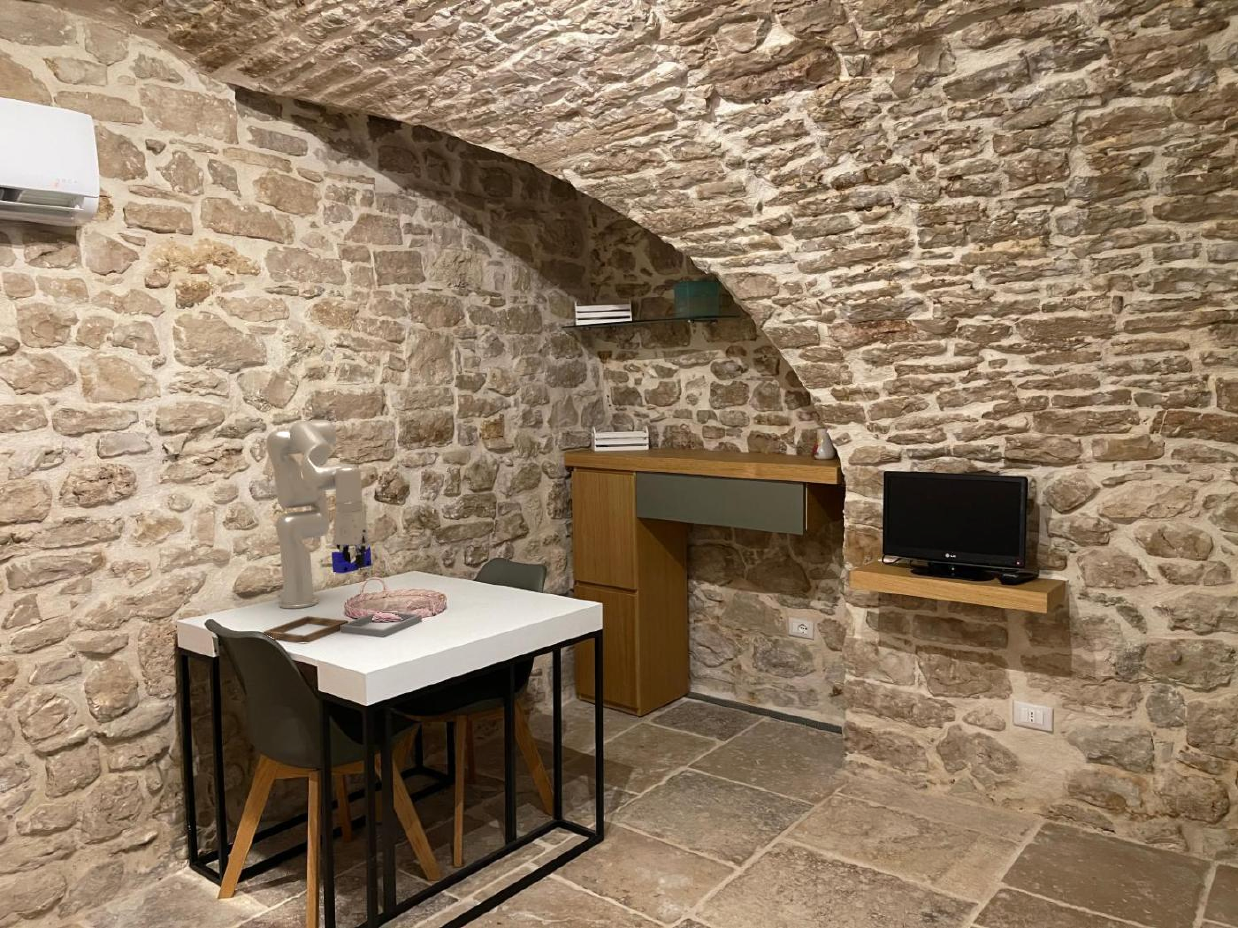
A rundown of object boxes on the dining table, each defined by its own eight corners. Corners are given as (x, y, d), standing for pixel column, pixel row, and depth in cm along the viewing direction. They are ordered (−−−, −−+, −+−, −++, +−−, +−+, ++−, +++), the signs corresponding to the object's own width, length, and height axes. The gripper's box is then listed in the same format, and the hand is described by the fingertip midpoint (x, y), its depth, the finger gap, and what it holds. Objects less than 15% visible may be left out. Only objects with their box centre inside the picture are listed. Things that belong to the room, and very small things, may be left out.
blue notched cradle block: (342, 573, 284) (340, 553, 283) (332, 571, 287) (331, 552, 286) (374, 566, 293) (373, 546, 293) (365, 564, 296) (364, 545, 295)
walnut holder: (263, 638, 285) (263, 631, 284) (307, 622, 301) (307, 616, 301) (305, 643, 278) (305, 636, 277) (348, 626, 294) (348, 620, 294)
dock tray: (340, 632, 289) (340, 625, 288) (380, 616, 305) (379, 610, 305) (383, 637, 282) (383, 630, 281) (421, 621, 298) (421, 614, 298)
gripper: (319, 508, 289) (323, 567, 290) (362, 510, 281) (366, 571, 283) (337, 504, 295) (341, 562, 297) (380, 506, 288) (383, 565, 289)
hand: (353, 565), depth 290 cm, fingers closed on blue notched cradle block, 4 cm apart
